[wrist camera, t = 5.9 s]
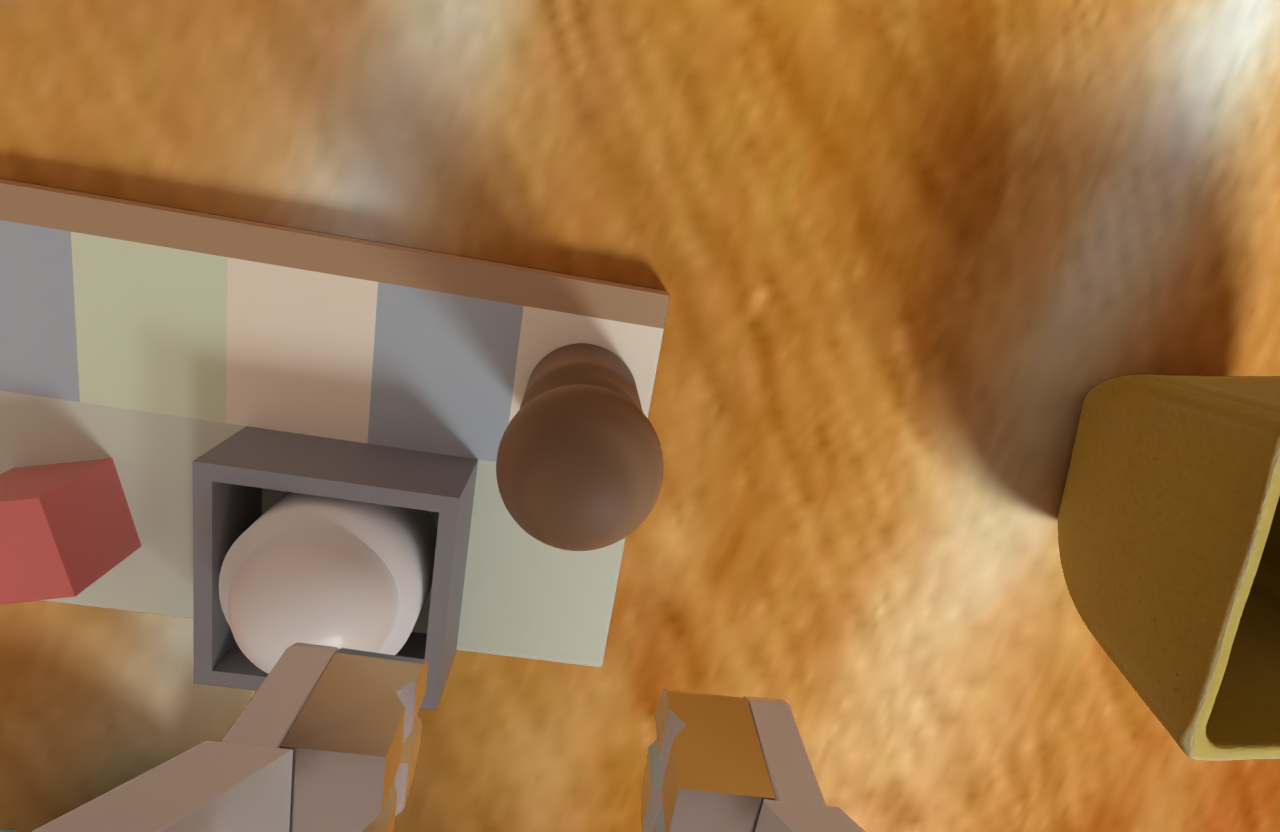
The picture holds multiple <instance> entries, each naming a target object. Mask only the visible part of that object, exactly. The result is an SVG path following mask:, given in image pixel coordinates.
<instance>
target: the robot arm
mask: <svg viewBox="0 0 1280 832" xmlns="http://www.w3.org/2000/svg"><path fill="white" fill-rule="evenodd" d="M427 673H428V664H427V660H424V659H417V658H410V657H403V656H396V655H389V654H382V653H375V652H368V651H361V650H354V649H347V648H341V649H339V648H337V647H330V646H322V645H314V644H306V643H298V642H297V643H295V644H293V645H291V646H290V647H288V648H287V649H286V650H285V652H284V653H283V655H282V656H281V657H280V659H279V660H278V662H277V663H276V664H275V666H274V667H273V669H272V670H271V671H270V673H269V674H268V676H267V677H266V679H265V680H264V681H263V683H262V684H261V686H260V687H259V688H258V690H257V691H256V693H255V694H254V696H253V697H252V698H251V700H250V701H249V703H248V704H247V705H246V707H245V708H244V710H243V711H242V712H241V714H240V715H239V717H238V718H237V720H236V721H235V722H234V724H233V725H232V727H231V728H230V729H229V731H228V732H227V734H226V735H225V737H224V738H223V739H222V741H221V742H218V741H208V740H206V741H204V742H202V743H200V744H198V745H196V746H194V747H193V748H191V749H189V750H187V751H185V752H183V753H181V754H179V755H177V756H175V757H173V758H171V759H170V760H168V761H166V762H164V763H162V764H160V765H158V766H156V767H154V768H152V769H150V770H148V771H146V772H145V773H143V774H141V775H139V776H137V777H135V778H133V779H131V780H129V781H127V782H125V783H123V784H122V785H120V786H118V787H116V788H114V789H112V790H110V791H108V792H106V793H104V794H102V795H100V796H98V797H97V798H95V799H93V800H91V801H89V802H87V803H85V804H83V805H81V806H79V807H77V808H75V809H74V810H72V811H70V812H68V813H66V814H64V815H62V816H60V817H58V818H56V819H54V820H52V821H50V822H49V823H47V824H45V825H43V826H41V827H39V828H37V829H35V830H33V831H31V832H394V824H395V816H397V815H398V814H399V813H400V812H402V811H403V810H404V808H405V804H406V801H407V798H408V795H409V792H410V788H411V785H412V780H413V776H414V772H415V768H416V764H417V759H418V753H419V747H420V741H421V733H422V725H423V722H422V720H421V719H420V717H419V716H418V712H419V709H420V706H421V703H422V701H423V698H424V695H425V692H426V686H427ZM655 721H656V733H657V740H656V741H655V742H654V743H653V744H652V745H651V746H650V747H649V748H648V753H647V758H646V764H645V769H644V776H643V785H642V794H641V825H642V832H865V831H864V830H863V829H862V828H861V827H860V826H858V825H857V824H856V823H855V822H854V821H853V820H852V819H851V818H850V817H849V816H848V815H846V814H845V813H844V812H843V811H842V810H841V809H840V808H839V807H830V806H826V804H825V801H824V798H823V796H822V793H821V790H820V787H819V785H818V782H817V779H816V777H815V774H814V771H813V768H812V766H811V763H810V760H809V757H808V755H807V752H806V749H805V746H804V744H803V741H802V738H801V735H800V733H799V730H798V727H797V724H796V722H795V719H794V716H793V714H792V711H791V708H790V705H788V704H787V703H786V702H785V701H784V700H778V699H767V698H756V697H743V698H739V697H731V696H722V695H713V694H704V693H696V692H687V691H678V690H670V689H663V690H662V693H661V696H660V698H659V702H658V707H657V711H656V715H655Z"/></svg>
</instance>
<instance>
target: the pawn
mask: <svg viewBox="0 0 1280 832" xmlns="http://www.w3.org/2000/svg"><path fill="white" fill-rule="evenodd" d="M496 477H497V483H498V488H499V492H500V495H501V498H502V500H503V502H504V505H505V507H506V509H507V510H508V512H509V513H510V515H511V516H512V518H513V519H514V520H515V521H516V523H517V524H518V525H519V526H520V527H521V528H522V529H523V530H524V531H525V532H527V533H528V534H529V535H531V536H532V537H534V538H535V539H537V540H539V541H540V542H542V543H544V544H547V545H549V546H552V547H555V548H559V549H563V550H569V551H589V550H596V549H600V548H604V547H606V546H609V545H612V544H614V543H616V542H618V541H620V540H622V539H624V538H625V537H626V536H628V535H629V534H631V533H632V532H633V531H634V530H635V529H637V528H638V527H639V526H640V524H641V523H642V522H643V521H644V520H645V519H646V517H647V516H648V514H649V513H650V511H651V510H652V508H653V506H654V504H655V502H656V500H657V498H658V495H659V492H660V488H661V484H662V478H663V457H662V450H661V446H660V442H659V439H658V437H657V434H656V432H655V430H654V428H653V427H652V425H651V423H650V421H649V420H648V418H647V417H646V416H645V415H644V413H643V411H642V407H641V403H640V399H639V395H638V391H637V387H636V383H635V380H634V377H633V375H632V373H631V371H630V369H629V368H628V367H627V365H626V364H625V363H624V362H623V361H622V360H621V359H620V358H619V357H618V356H617V355H616V354H614V353H613V352H611V351H609V350H608V349H605V348H603V347H601V346H597V345H594V344H587V343H577V344H570V345H566V346H562V347H560V348H557V349H555V350H554V351H552V352H550V353H549V354H547V355H546V356H545V357H544V358H543V359H542V360H541V361H540V362H539V363H538V364H537V365H536V367H535V368H534V370H533V371H532V373H531V375H530V378H529V380H528V384H527V387H526V390H525V393H524V397H523V400H522V403H521V406H520V410H519V411H518V412H517V413H516V415H515V416H514V417H513V418H512V420H511V421H510V423H509V425H508V426H507V428H506V430H505V431H504V434H503V436H502V439H501V441H500V445H499V448H498V453H497V461H496Z"/></svg>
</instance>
